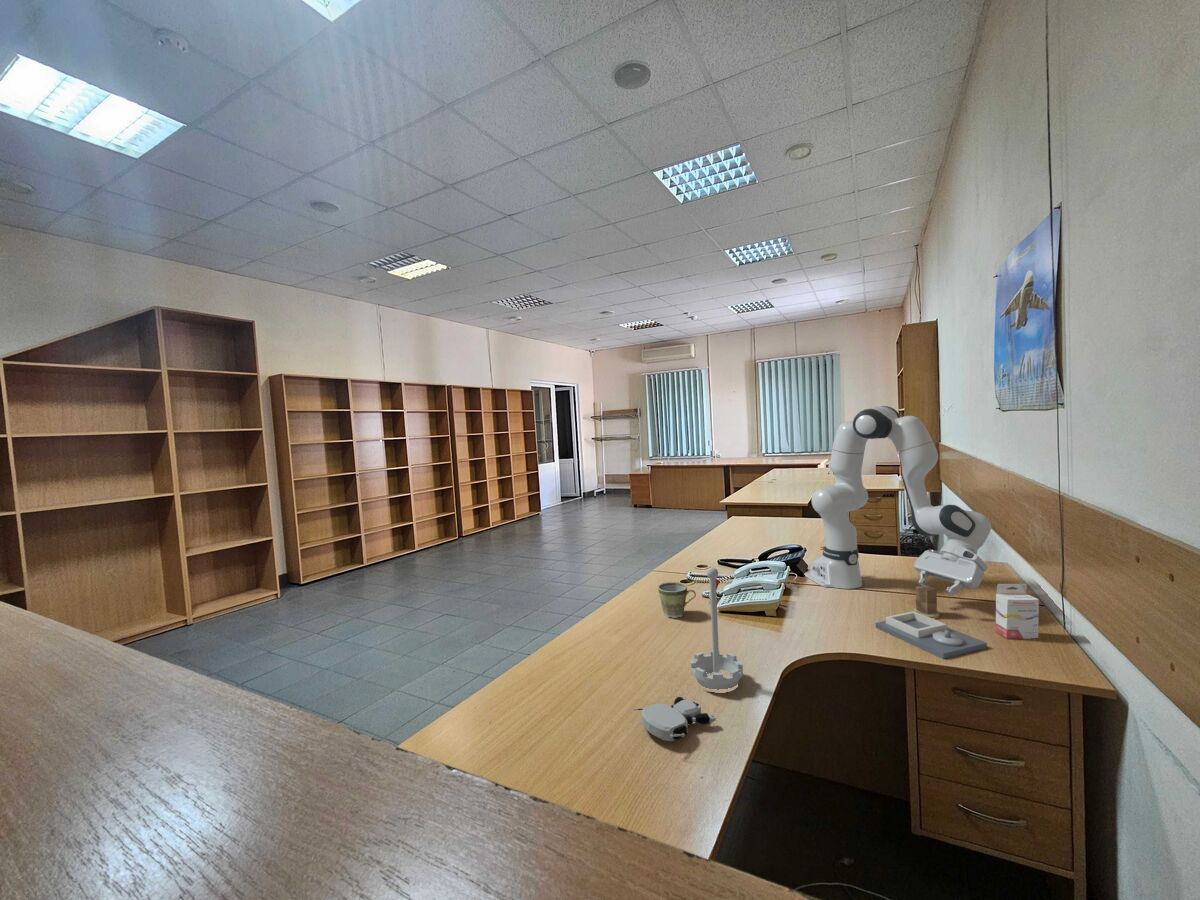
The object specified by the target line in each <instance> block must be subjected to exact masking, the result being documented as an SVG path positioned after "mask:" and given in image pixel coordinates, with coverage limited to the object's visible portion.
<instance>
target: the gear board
mask: <svg viewBox="0 0 1200 900" xmlns="http://www.w3.org/2000/svg"><path fill="white" fill-rule="evenodd" d="M875 628H876V629H878V628H879V629H878V630H880V629H881V630H880V631H882V630H883V632H884V631H885V632H884V633H886V632H887V633H886V634H888V633H889V634H888V635H891V636H893V637H895V638H898V639H899V640H901V639H902V641H903V640H904V641H903V642H906V643H909V644H910V645H912V646H914V647H917V648H919V649H921V650H923V651H925V652H928V653H930V654H932V655H934V656H936V657H938V658H940V659H942V660H946V659H950V658H953V657H958V656H962V655H965V654H969V653H972V652H975V651H976V652H977V651H981V650H984V649H987V645H988V643H987V642H986V641H983V640H981V639H978V638H975V637H973V636H970V635H967V634H965V633H963V632H961V631H958V630H956V629H953V628H950V627H948V624H946V623H944V622H942V621H939V620H938V619H932V618H929V617H927V616H924V615H922V614H919V613H916V612H914V610H912V611H908V612H903V613H900V614H899V613H898V614H893V615H890V616H885V620H883V621H877V622H875Z"/></svg>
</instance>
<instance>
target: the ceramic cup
mask: <svg viewBox="0 0 1200 900" xmlns="http://www.w3.org/2000/svg"><path fill="white" fill-rule="evenodd" d="M657 590H658V595H659V599H660V603H661V608H662V613H663V615H664V617H666V616H667V617H666V618H668V617H672V618H671V619H674V618H676V619H678V618H677V617H680V618H683V616H684V615H685V607H686V605H688V604H689V603H690V602H691V601H692V600H694V599H695V597H697V595H696V594H697V593H696V591H695V590H694V589H688V586H687V584H684V583H683V582H677V581H676V582H675V581H669V582H663V583H661V584H659V585H658V587H657ZM689 593H693V594H694V596H693V597H691V598H689V599H688V601H686V598H687V596H688V594H689ZM683 614H684V615H683Z"/></svg>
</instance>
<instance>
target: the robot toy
mask: <svg viewBox="0 0 1200 900" xmlns="http://www.w3.org/2000/svg"><path fill="white" fill-rule="evenodd" d="M633 711H641V714H640V717H641V724H642V726H643V728H645V729H646V731H647V732H649V734H651V735H653V736H655V737H657V738H658V739H660V740H661V741H662V740H663V741H667V742H674V740H675V741H678V740H680V739H682V738H685V737H686V736H687V734H688V729H689V728H688V727H689V725H688V724H692V723H693V722H696V723H698V724H700V725H709V724H710V722H712V723H713V722H716V720H717V718H716V717H715V715H713V714H708V713H706V712H705V713H704V712H703V713H702V706H701V704H699V703H696V701H694V700H689V699H687V698H686V697H683V696H682V695H681V696H680V695H679V696H676V698H675V699H674V701H673V704H672V705H671V706H670V705H667V704H665V703H657V702H656V703H654V704H650V705H648V706H645V707H642V708H641V707H640V708H637V707H636V708H633ZM692 725H693V724H692Z"/></svg>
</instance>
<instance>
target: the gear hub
mask: <svg viewBox="0 0 1200 900" xmlns="http://www.w3.org/2000/svg"><path fill="white" fill-rule="evenodd" d="M937 595H938V594H937V588H935V587H932V586H929V585H927V584H926V585H920V586H919V585H918V586H915V607H914V608H913V611H914V612H916V613H919V614H922V615H924V616H927V617H929V618H938V619H939V618H940V617H941V616H940V611H938V608H937V607H938V604H937V603H938V601H937V599H938V597H937ZM939 616H940V617H939Z"/></svg>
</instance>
